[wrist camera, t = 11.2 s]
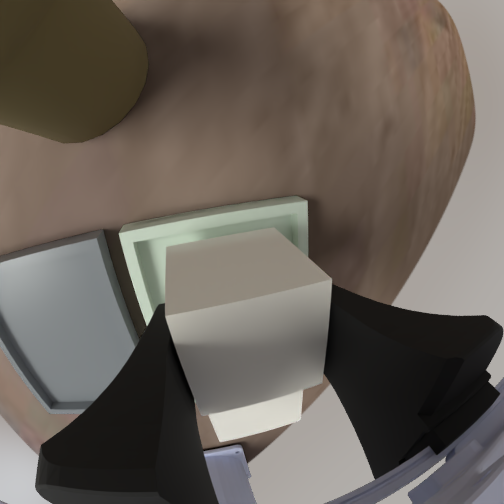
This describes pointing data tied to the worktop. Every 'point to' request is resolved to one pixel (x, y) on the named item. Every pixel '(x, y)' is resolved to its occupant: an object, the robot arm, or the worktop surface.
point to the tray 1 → (64, 320)
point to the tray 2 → (202, 238)
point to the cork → (68, 67)
